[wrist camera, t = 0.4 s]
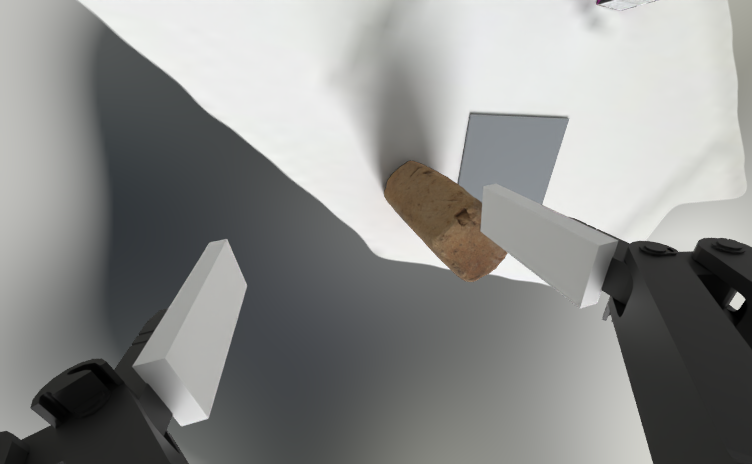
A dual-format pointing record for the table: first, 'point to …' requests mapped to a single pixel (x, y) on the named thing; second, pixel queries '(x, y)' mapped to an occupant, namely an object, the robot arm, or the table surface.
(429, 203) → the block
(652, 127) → the table surface
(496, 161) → the mat
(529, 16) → the table surface
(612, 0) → the candy bar box
